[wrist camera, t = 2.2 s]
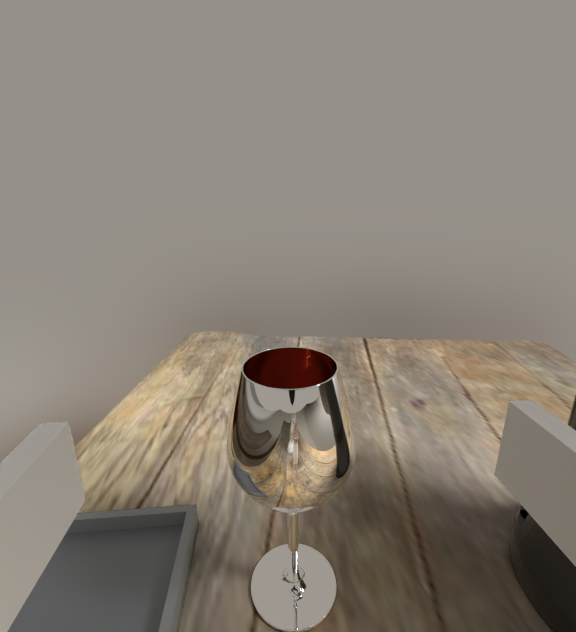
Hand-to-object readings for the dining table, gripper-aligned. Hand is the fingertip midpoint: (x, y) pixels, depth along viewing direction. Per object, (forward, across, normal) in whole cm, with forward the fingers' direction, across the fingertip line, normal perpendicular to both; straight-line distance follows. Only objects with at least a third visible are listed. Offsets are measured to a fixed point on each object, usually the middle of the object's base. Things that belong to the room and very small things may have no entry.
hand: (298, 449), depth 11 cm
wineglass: (+10, +1, -20) cm, 23 cm away
